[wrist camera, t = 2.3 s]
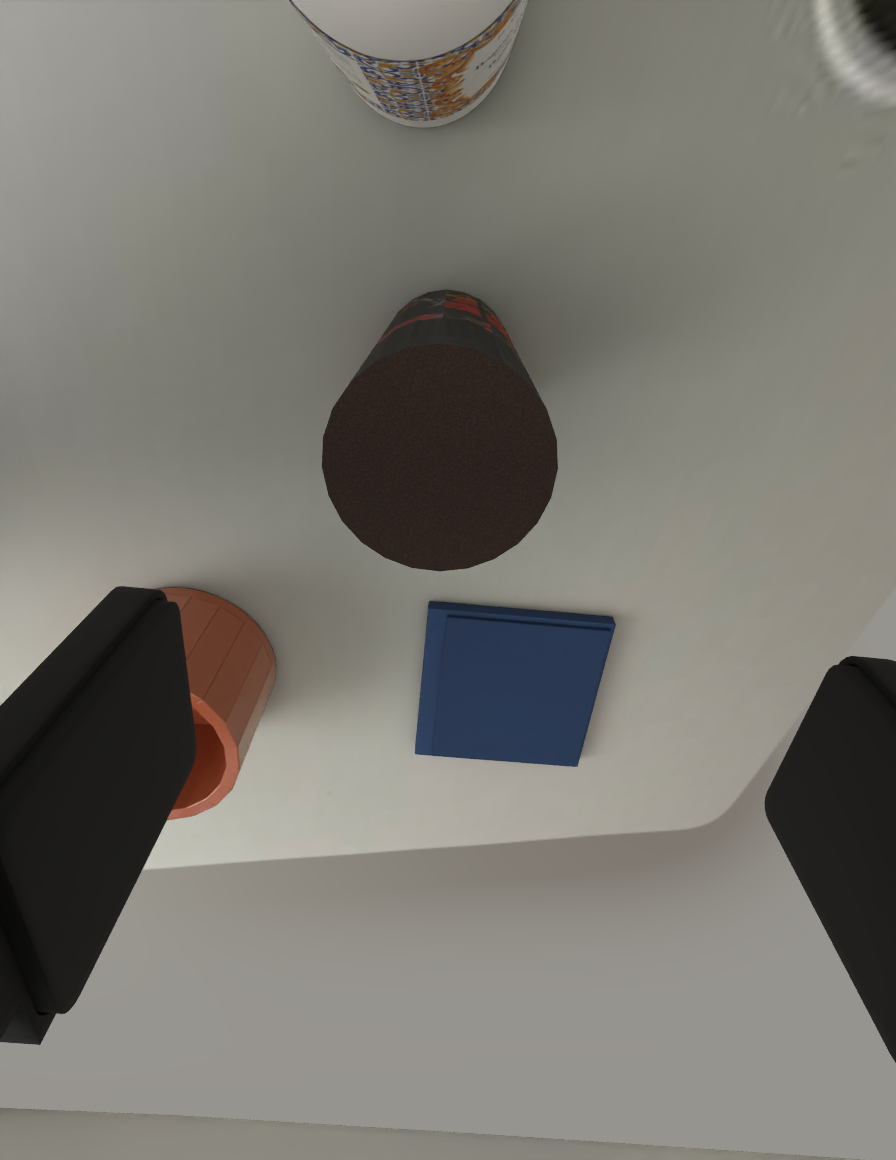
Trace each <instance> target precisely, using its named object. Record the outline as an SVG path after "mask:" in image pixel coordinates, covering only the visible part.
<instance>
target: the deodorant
mask: <svg viewBox="0 0 896 1160" xmlns="http://www.w3.org/2000/svg"><path fill="white" fill-rule="evenodd" d="M322 469H323V473H324V478H325V482H326V486H327V491H328V495H329V497H330V499H331V501H332V503H333V505H334V507H335V508H336V510H337V512H338V514H339V516H340V518H341V520H342V521H343V522H344V524H345V525H346V526H347V527H348V528H349V529H350V530H351V531H352V532H353V533H354V534H355V536H356V537H357V538H358V539H359V540H360V541H361V542H362V543H364V544H365V545H367V546H368V547H370V548H371V549H373V550H374V551H376V552H377V553H379V554H380V555H382V556H383V557H385V558H387V559H390V560H392V561H395V562H398V563H400V564H403V565H406V566H408V567H411V568H418V569H426V570H434V571H447V570H456V569H466V568H470V567H473V566H476V565H479V564H481V563H484V562H487V561H490V560H493V559H495V558H497V557H498V556H500V555H501V554H503V553H504V552H506V551H507V550H509V549H511V548H512V547H514V546H515V545H517V544H518V543H519V542H520V541H521V540H522V539H523V538H524V537H525V536H526V535H527V534H528V532H529V531H530V530H531V529H532V528H533V527H534V526H535V525H536V524H537V523H538V521H539V519H540V517H541V515H542V513H543V512H544V510H545V508H546V506H547V504H548V502H549V501H550V499H551V496H552V491H553V487H554V483H555V479H556V474H557V470H558V463H557V439H556V436H555V433H554V430H553V427H552V424H551V421H550V418H549V415H548V412H547V409H546V407H545V405H544V403H543V401H542V400H541V398H540V396H539V394H538V392H537V390H536V388H535V386H534V384H533V382H532V380H531V378H530V376H529V374H528V373H527V371H526V369H525V367H524V365H523V363H522V361H521V359H520V357H519V355H518V353H517V351H516V349H515V348H514V346H513V344H512V342H511V340H510V338H509V336H508V334H507V332H506V330H505V328H504V326H503V325H502V323H501V322H500V320H499V319H498V317H497V316H496V314H495V313H494V312H493V311H492V310H491V309H490V308H489V307H488V306H486V305H485V304H484V303H483V302H482V301H481V300H479V299H477V298H475V297H473V296H471V295H468V294H466V293H464V292H458V291H451V290H441V291H434V292H428V293H426V294H424V295H422V296H419V297H417V298H415V299H413V300H412V301H410V302H409V303H408V304H407V305H406V306H405V307H403V308H402V309H401V310H400V311H399V312H398V314H397V315H396V316H395V318H394V319H393V321H392V322H391V324H390V325H389V327H388V328H387V330H386V331H385V332H384V334H383V335H382V337H381V338H380V340H379V341H378V343H377V344H376V346H375V347H374V349H373V350H372V351H371V353H370V354H369V356H368V357H367V359H366V360H365V362H364V363H363V365H362V366H361V368H360V369H359V370H358V372H357V373H356V375H355V376H354V378H353V379H352V381H351V382H350V384H349V385H348V387H347V388H346V389H345V391H344V392H343V394H342V395H341V397H340V398H339V400H338V401H337V403H336V404H335V406H334V407H333V409H332V412H331V415H330V418H329V421H328V424H327V427H326V430H325V433H324V436H323V454H322Z"/></svg>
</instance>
